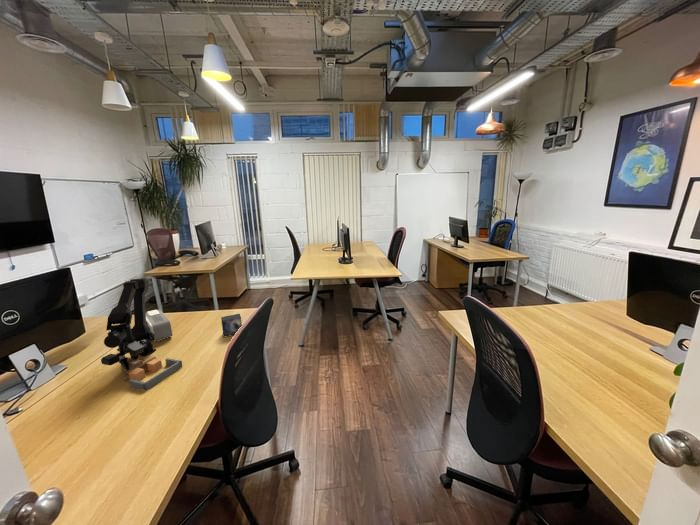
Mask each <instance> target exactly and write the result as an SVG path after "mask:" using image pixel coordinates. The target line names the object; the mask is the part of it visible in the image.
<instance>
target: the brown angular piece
mask: <svg viewBox="0 0 700 525" xmlns="http://www.w3.org/2000/svg"><path fill="white" fill-rule="evenodd" d="M127 358H128V359H127V363H128V367H129V370H126V369H125V368H124V367H123V366H122V365H121V364H120V365H121V366H120V367H121V370H122V371H123V372H124V373H123V374H122V375H123V378H124V381H125V382H129V380H130V378H129V374H128V373H129V372H131V371H133V370H134V369H136V368H141V369H144V372H146V371H148V368H147V363H148V362H150V361H151V360H153V359H157V357H156V356H153V357H151V358H149V359H148V360H146V361H143V360H142V359H139V358H138V359H133V358H131V357H127Z"/></svg>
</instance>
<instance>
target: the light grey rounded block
mask: <svg viewBox="0 0 700 525" xmlns="http://www.w3.org/2000/svg"><path fill="white" fill-rule="evenodd" d="M146 324H147V325H148V326H149V327H150V331H151V332H152V333H153V334H155V340H154V341H153V342H156V341H158V342H160V341H159V340H161V341H163V340H162V339H164V340H166V339H165V338H167V339H169V338H168V337H170V338H171V337H173V329H172V324H171V321H170V319H169V318H168V317H167V316H166V315H165V313H163V311H162V310H161V309H153V310H148V311H146Z"/></svg>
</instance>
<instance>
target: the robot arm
mask: <svg viewBox="0 0 700 525" xmlns="http://www.w3.org/2000/svg"><path fill="white" fill-rule="evenodd" d="M149 286H150V280H148V279H147V278H145V277H143V278H133V279H132V278H131V279H130V281H125V282H124V283H123V285H122V287H123V289H122V292H121V293H120V297H119V300H118V303H117V305H116V306H114V307H113V308H112V309H111V311H110V312H109V314H108V316H107V321H106V322H107V323H106V331H108V332H107V336H106V337H105V338H104V340H103V344H104V346H105V347H107V348H110V349H113V348H115V349H116V348H117V347H118V348H117V349H116V351H117V352H118V353H116V354H115V353H109V354H106V355H105V356H103V357H101V359H100V361H101V362H100V363H101V364H102V365H106V366H113V365H115V364H117V363H119V364H120V365H122V366H123V367H124V368H125V369H126V370H129V367H128V363H127V359H128V358H129V357H128V358H127V357H126V355H127V354H129V356H130V358H133V359H138V360H139V356H141V357H147V356H148V355H150V354H152V353H153V352H155V351H157V348H154V347H153V342H155V341H154V340H155V334H153V333H152V332H151V331H150V327H149V326H148V325H147V324H146V313H147V311H146V294H147V293H148V291H149ZM132 303H133V312H132V311H131V306H132ZM133 318H134V319H133ZM132 319H133V322H134V324H133V326H132V327H131V324H132ZM122 366H121V367H122Z"/></svg>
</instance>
